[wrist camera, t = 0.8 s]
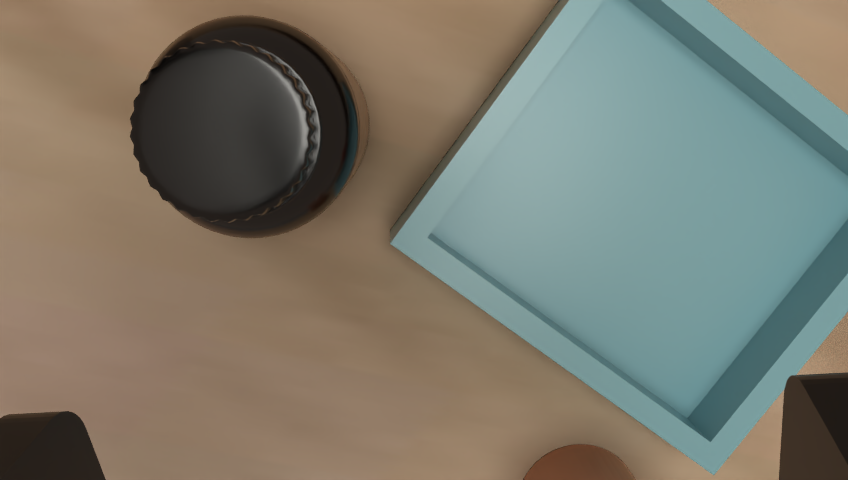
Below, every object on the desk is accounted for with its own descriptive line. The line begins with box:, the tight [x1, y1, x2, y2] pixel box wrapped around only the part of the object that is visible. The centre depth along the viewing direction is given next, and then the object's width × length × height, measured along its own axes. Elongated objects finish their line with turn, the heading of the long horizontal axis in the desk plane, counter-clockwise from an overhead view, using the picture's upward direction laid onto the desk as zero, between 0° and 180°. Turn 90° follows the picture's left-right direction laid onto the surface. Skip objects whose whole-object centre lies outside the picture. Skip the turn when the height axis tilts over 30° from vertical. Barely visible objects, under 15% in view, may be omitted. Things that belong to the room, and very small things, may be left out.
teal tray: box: [390, 0, 848, 475], centre depth 32 cm, size 16×14×4 cm
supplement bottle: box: [130, 16, 369, 238], centre depth 26 cm, size 7×7×12 cm
